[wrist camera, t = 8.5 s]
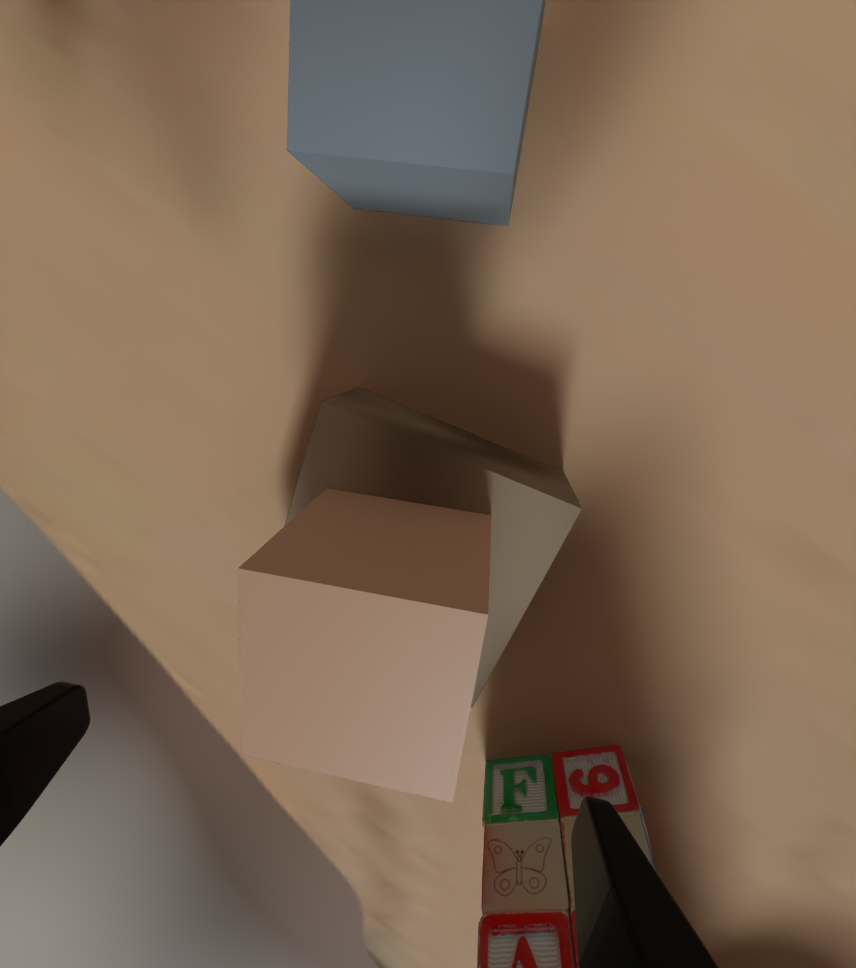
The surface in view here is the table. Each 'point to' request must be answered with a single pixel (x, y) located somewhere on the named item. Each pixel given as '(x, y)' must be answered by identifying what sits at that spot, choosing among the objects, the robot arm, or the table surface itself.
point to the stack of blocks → (542, 851)
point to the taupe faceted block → (446, 493)
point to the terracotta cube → (365, 640)
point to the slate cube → (413, 101)
